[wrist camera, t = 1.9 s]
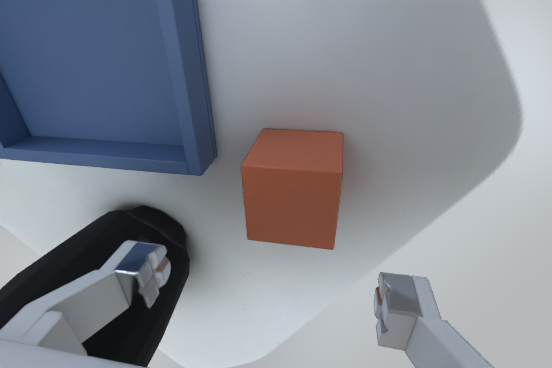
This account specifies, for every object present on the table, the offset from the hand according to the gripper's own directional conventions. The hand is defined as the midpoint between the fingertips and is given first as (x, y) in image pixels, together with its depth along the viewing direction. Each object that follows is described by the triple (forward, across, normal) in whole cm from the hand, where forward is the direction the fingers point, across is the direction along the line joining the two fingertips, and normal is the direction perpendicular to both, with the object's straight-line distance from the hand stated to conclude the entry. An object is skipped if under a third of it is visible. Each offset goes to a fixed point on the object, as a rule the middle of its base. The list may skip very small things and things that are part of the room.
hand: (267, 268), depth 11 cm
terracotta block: (+8, 0, 0) cm, 8 cm away
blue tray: (+8, +12, -6) cm, 15 cm away
